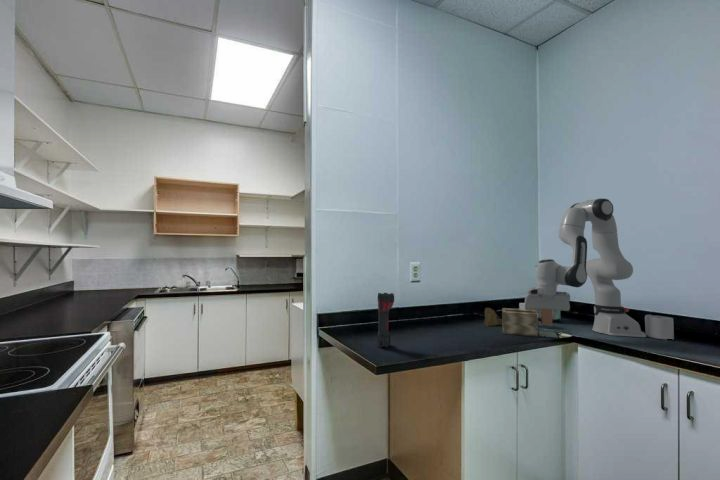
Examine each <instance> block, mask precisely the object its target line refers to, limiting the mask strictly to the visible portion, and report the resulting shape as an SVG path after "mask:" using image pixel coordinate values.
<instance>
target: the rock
mask: <svg viewBox="0 0 720 480" xmlns="http://www.w3.org/2000/svg"><path fill="white" fill-rule="evenodd" d="M497 325H501V321H500V317H499V316H498V314H497V313H496V311H495V310H494V309H492V308H491V307H485V308H484V326H486V327H492V326H493V327H494V326H497Z"/></svg>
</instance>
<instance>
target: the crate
mask: <svg viewBox="0 0 720 480" xmlns="http://www.w3.org/2000/svg"><path fill="white" fill-rule="evenodd" d="M501 310H502V313H501V317H502V320H501V321H502V325H501V326H502V334H503V335H504V334H505V335H513V336H514V335H516V336H527V337H536V338H537V337H539V334H538V331H539V330H538V329H539V320H538V321H537V313H536V312H535V310H524V309H519V308H507V307H502V308H501Z"/></svg>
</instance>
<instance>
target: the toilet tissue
mask: <svg viewBox="0 0 720 480" xmlns="http://www.w3.org/2000/svg"><path fill="white" fill-rule="evenodd" d="M644 328H645V332H644V333H645V334H646V335H647V337H649V338H653V339H659V340H667V339H672V340H674V339H675V333H674V332H675V331H674V330H675V329H674V328H675V327H674V318H673V317H671V316H670V317H669V316H663V315H655V314H654V315H653V314H646V315H645V316H644Z"/></svg>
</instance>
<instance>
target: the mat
mask: <svg viewBox="0 0 720 480" xmlns="http://www.w3.org/2000/svg"><path fill="white" fill-rule="evenodd" d="M544 336H545V337H544ZM538 337H544V338H554V339H556V338H557V339H558V338H559V337H558V335H557V333H556V332H555V331H543V330H538Z"/></svg>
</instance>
